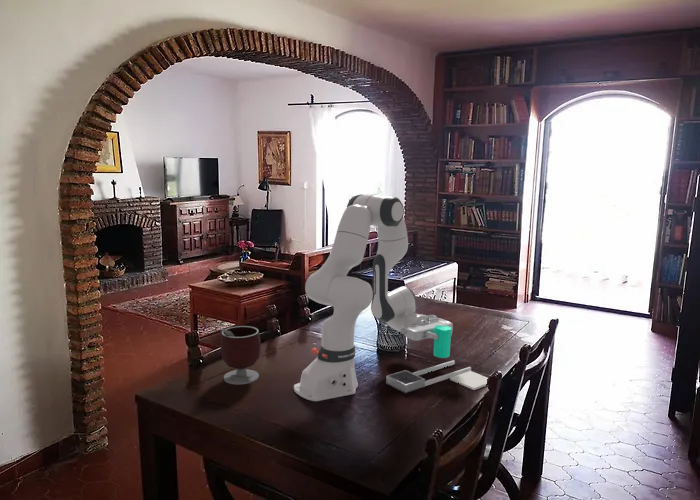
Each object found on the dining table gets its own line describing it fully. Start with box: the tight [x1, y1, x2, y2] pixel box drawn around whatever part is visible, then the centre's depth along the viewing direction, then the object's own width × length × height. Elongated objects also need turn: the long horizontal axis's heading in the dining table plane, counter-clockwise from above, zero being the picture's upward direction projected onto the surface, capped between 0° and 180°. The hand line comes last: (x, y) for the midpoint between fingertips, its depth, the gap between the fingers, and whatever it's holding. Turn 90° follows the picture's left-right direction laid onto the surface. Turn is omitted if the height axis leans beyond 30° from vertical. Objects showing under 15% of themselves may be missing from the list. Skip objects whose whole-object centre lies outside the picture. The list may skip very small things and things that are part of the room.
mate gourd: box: [219, 325, 262, 386], centre depth 192 cm, size 16×14×20 cm
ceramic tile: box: [449, 370, 489, 391], centre depth 194 cm, size 11×11×1 cm
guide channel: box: [412, 359, 472, 387], centre depth 199 cm, size 24×9×2 cm, turn 127°
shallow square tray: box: [385, 369, 426, 394], centre depth 189 cm, size 9×10×3 cm
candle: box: [433, 323, 452, 359], centre depth 198 cm, size 6×6×12 cm
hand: (444, 335), depth 197 cm, fingers closed on candle, 5 cm apart
